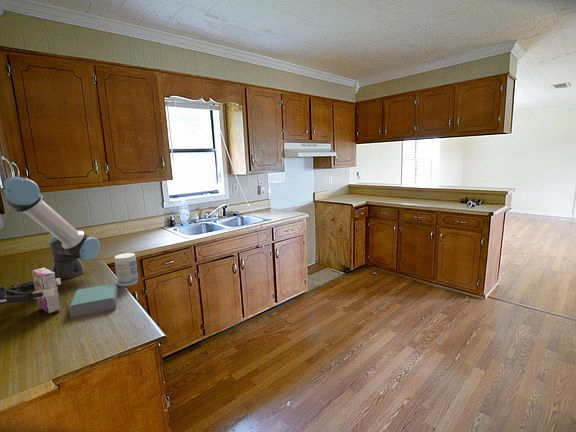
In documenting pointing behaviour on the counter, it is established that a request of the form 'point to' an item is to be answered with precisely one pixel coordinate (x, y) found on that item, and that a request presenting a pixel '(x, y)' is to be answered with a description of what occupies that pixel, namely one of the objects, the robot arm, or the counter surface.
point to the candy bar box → (46, 281)
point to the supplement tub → (126, 269)
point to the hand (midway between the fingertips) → (57, 286)
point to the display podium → (94, 300)
